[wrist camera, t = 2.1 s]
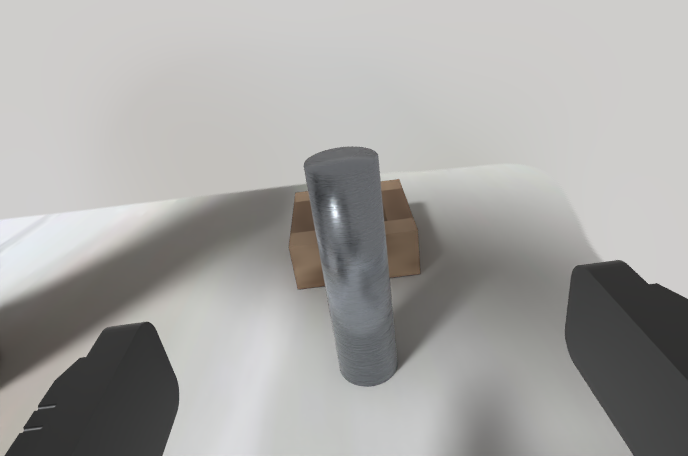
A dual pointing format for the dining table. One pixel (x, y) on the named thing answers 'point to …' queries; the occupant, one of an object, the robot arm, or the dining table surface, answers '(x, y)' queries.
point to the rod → (354, 260)
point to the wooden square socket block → (397, 232)
